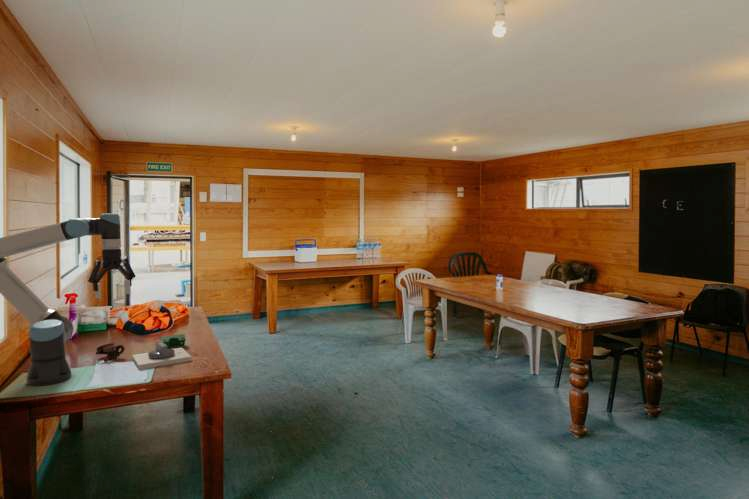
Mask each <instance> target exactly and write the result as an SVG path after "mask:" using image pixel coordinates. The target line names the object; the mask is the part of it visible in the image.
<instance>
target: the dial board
mask: <svg viewBox="0 0 749 499" xmlns="http://www.w3.org/2000/svg"><path fill="white" fill-rule="evenodd" d="M172 349H173V350H174V355H173V356H171V357H168V358H163V359H151V358H149V357H148V353H149V352H144V353H136V354H132V355H131V359H132V362H133V363H134V364H135V365H136V366H135V367H137V369H138V370H144V369H149V368H150V369H151V368H156V367H162V366H168V365H173V364H180V363H185V362H192V356H191V355H190V353H188V352H187V350H185V349H184V348H183V347H180V348H179V347H177V348H172Z"/></svg>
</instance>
